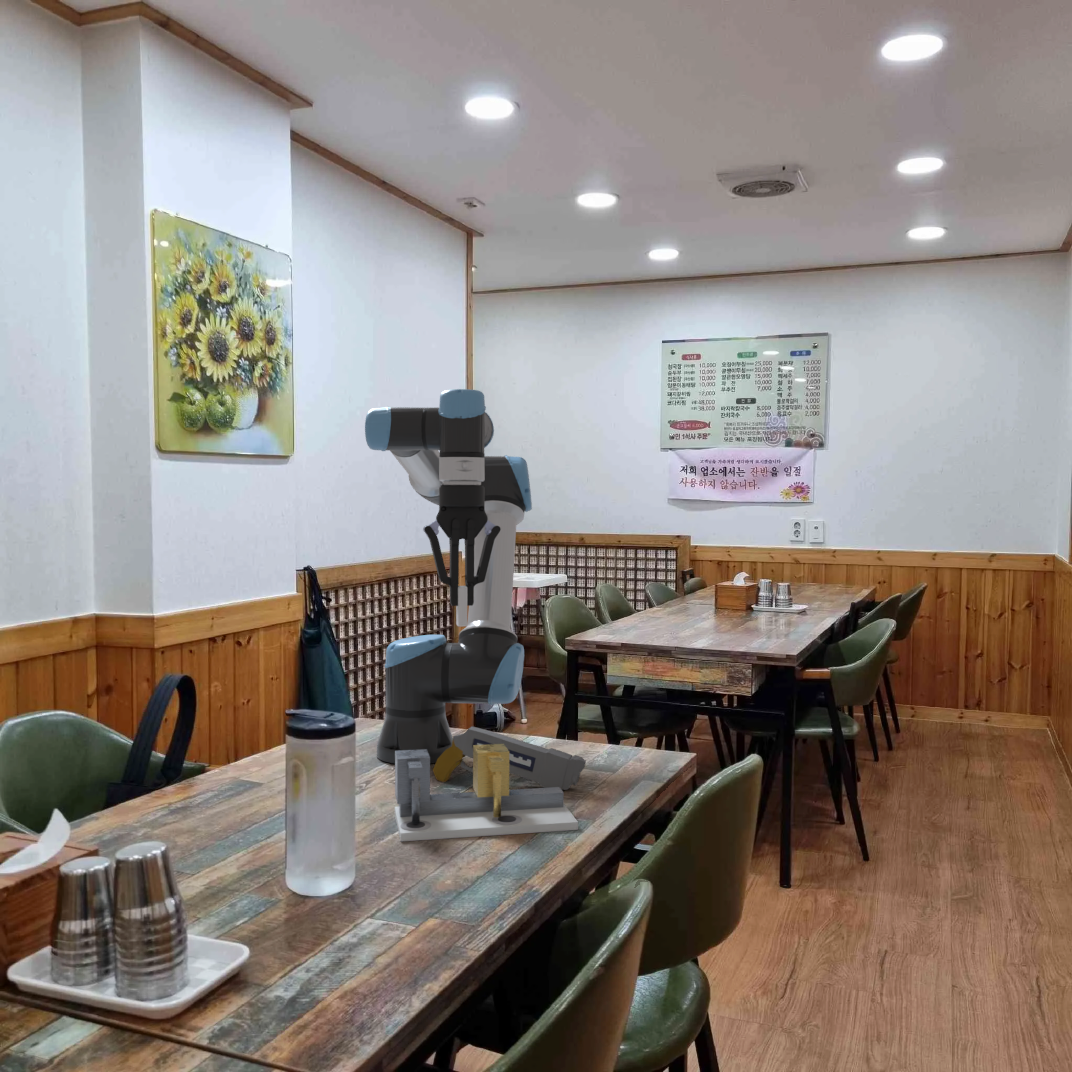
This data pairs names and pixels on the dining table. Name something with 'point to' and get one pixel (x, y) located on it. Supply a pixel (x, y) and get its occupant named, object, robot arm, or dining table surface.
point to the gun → (514, 759)
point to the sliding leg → (491, 773)
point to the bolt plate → (485, 823)
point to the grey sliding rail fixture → (419, 801)
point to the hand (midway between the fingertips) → (461, 625)
